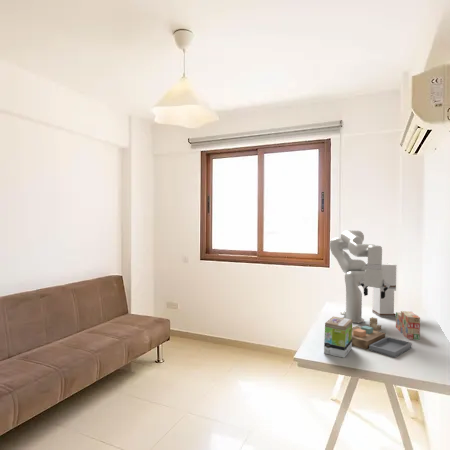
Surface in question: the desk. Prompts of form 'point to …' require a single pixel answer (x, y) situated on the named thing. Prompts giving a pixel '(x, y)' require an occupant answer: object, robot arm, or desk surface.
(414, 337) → the stack of blocks
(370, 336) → the brown wooden board
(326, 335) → the tea box
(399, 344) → the box
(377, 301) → the tall white pillar
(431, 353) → the desk surface
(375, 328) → the scraper
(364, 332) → the terracotta tile
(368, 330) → the teal block
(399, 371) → the desk surface
